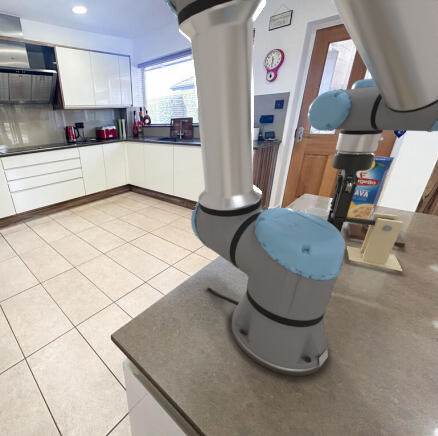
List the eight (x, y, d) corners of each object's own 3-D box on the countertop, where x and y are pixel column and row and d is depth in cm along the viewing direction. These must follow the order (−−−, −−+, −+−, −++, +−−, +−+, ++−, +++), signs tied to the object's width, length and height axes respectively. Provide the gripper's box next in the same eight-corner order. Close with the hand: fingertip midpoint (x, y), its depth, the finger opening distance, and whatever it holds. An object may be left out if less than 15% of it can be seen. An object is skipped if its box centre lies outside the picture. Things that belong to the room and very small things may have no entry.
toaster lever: (330, 225, 62) (332, 217, 61) (330, 217, 67) (331, 210, 66) (394, 234, 55) (397, 225, 55) (389, 224, 60) (392, 215, 59)
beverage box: (335, 210, 93) (352, 154, 84) (372, 218, 85) (394, 157, 76) (329, 215, 90) (345, 157, 81) (366, 224, 81) (389, 160, 73)
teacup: (301, 228, 81) (304, 215, 80) (295, 216, 90) (297, 205, 88) (335, 230, 78) (339, 218, 76) (325, 219, 87) (328, 207, 85)
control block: (348, 240, 72) (352, 229, 71) (346, 229, 79) (349, 218, 77) (402, 250, 66) (408, 238, 64) (395, 237, 73) (400, 225, 71)
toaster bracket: (348, 263, 62) (363, 219, 57) (345, 249, 68) (359, 208, 63) (400, 274, 57) (422, 227, 52) (393, 258, 63) (412, 215, 58)
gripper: (383, 159, 47) (350, 256, 56) (369, 147, 61) (344, 226, 71) (337, 158, 51) (313, 248, 60) (333, 146, 65) (314, 221, 75)
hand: (330, 236), depth 66 cm, fingers closed on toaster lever, 6 cm apart
